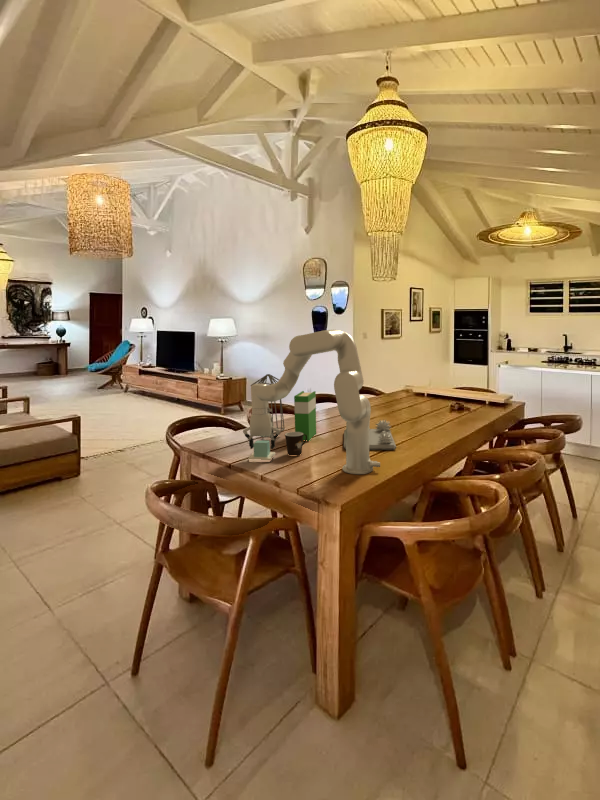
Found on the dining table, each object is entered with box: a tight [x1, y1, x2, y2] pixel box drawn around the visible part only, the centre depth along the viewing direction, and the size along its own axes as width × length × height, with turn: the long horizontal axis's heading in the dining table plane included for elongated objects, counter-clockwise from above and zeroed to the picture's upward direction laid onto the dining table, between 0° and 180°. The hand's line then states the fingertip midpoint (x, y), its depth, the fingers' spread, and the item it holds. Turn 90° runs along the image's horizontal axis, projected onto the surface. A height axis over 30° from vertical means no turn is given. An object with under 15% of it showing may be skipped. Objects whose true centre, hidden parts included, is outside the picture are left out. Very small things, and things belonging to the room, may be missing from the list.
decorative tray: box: [343, 418, 397, 451], centre depth 234 cm, size 35×26×10 cm
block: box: [253, 439, 271, 457], centre depth 207 cm, size 6×6×6 cm
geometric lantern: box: [250, 373, 285, 438], centre depth 242 cm, size 16×16×35 cm
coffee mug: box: [284, 431, 307, 455], centre depth 213 cm, size 12×9×10 cm
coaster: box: [248, 451, 276, 460], centre depth 207 cm, size 10×10×2 cm
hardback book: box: [293, 390, 317, 441], centre depth 243 cm, size 18×7×24 cm, turn 166°
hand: (262, 448), depth 206 cm, fingers open, 9 cm apart
